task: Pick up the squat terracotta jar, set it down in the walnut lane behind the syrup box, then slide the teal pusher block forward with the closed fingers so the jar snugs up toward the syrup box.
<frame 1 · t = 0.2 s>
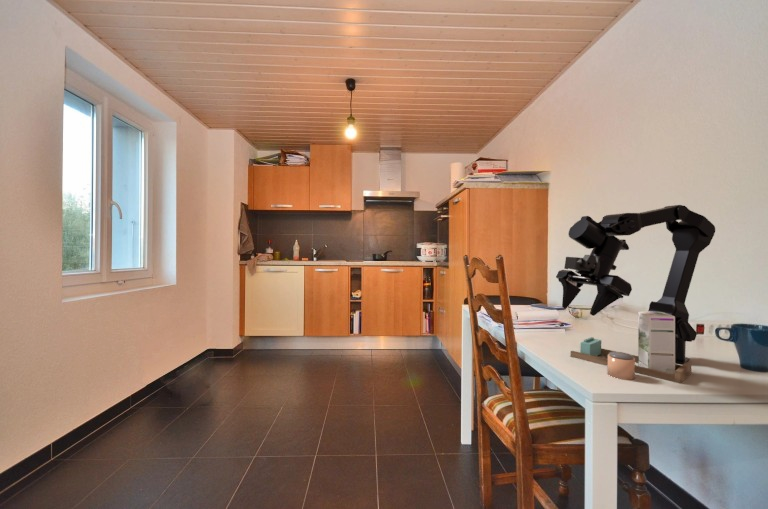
hand: (577, 311, 90), 14 cm above the table, tool tilted 30°, fingers open, 9 cm apart
pusher: (591, 347, 99), point 2 cm above the table, slide at 0.0 cm
syrup box: (655, 372, 87), resting in lane
jar: (620, 375, 84), on the table
lane: (624, 363, 92), on the table
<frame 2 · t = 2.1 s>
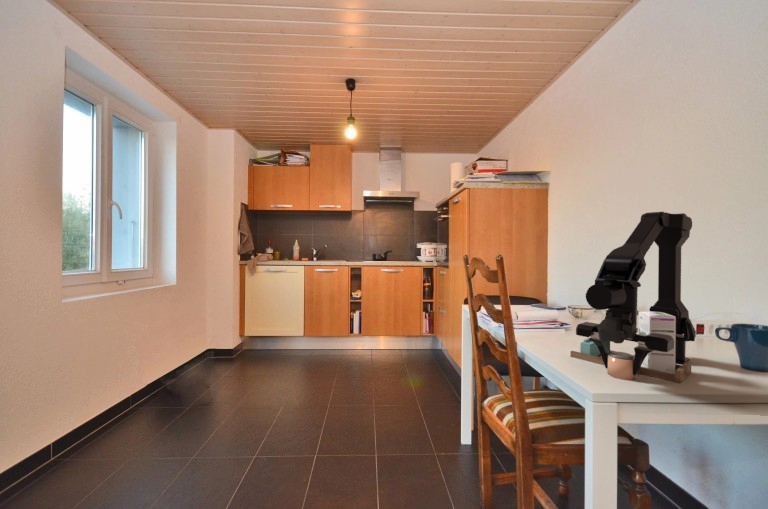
hand: (620, 371, 84), 1 cm above the table, tool pointing down, fingers closed on jar, 5 cm apart
jar: (620, 375, 84), on the table, touching gripper
everything else where it was.
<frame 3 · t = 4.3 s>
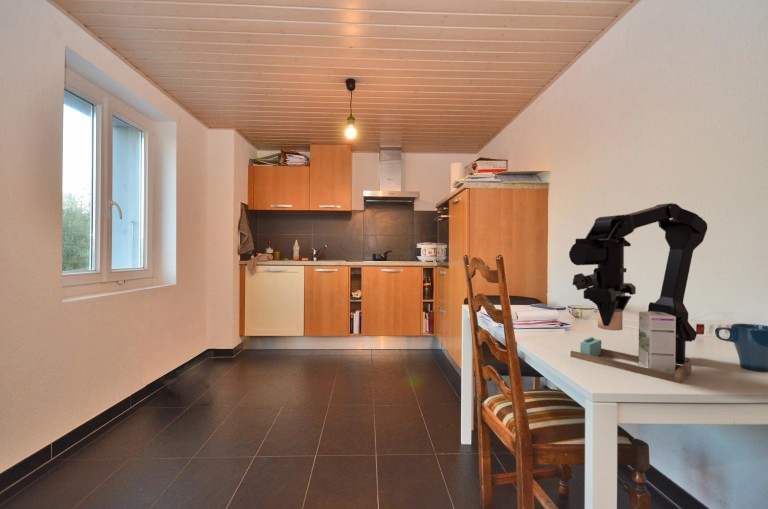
hand: (610, 324, 91), 11 cm above the table, tool pointing down, fingers closed on jar, 5 cm apart
jar: (609, 327, 91), point 10 cm above the table, touching gripper
everything else where it was.
when the fingers open (2 cm above the table, at t = 6.3 s): jar drops 2 cm, resting in lane.
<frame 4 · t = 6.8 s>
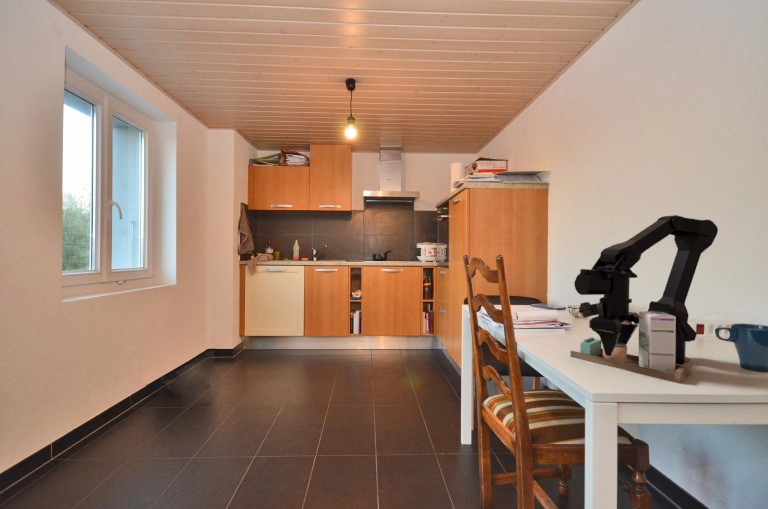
hand: (614, 352, 94), 2 cm above the table, tool pointing down, fingers open, 9 cm apart
jar: (614, 361, 94), resting in lane
everything else where it was.
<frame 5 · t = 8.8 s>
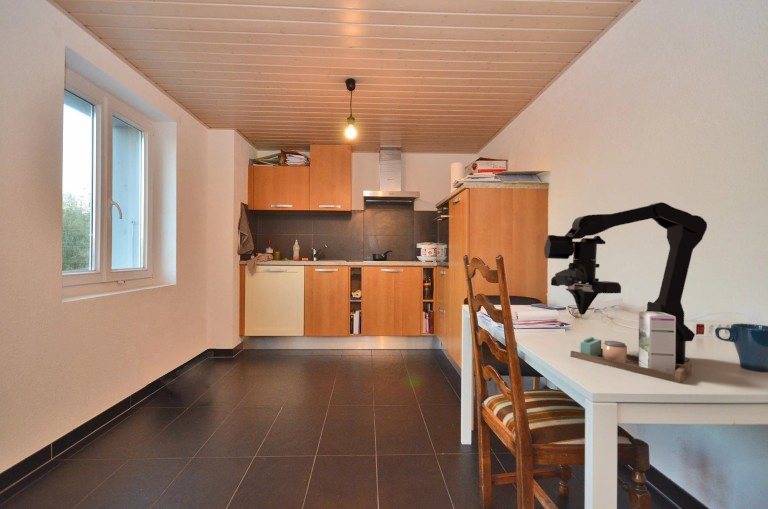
hand: (581, 314, 100), 12 cm above the table, tool pointing down, fingers closed
nothing on the table moved.
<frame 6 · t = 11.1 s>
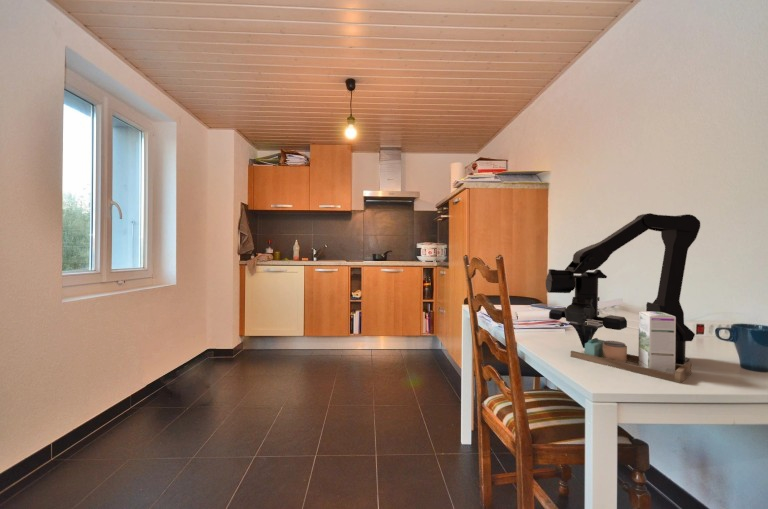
hand: (585, 348, 100), 2 cm above the table, tool pointing down, fingers closed
pusher: (595, 348, 98), point 3 cm above the table, slide at 1.1 cm, touching gripper
everything else where it was.
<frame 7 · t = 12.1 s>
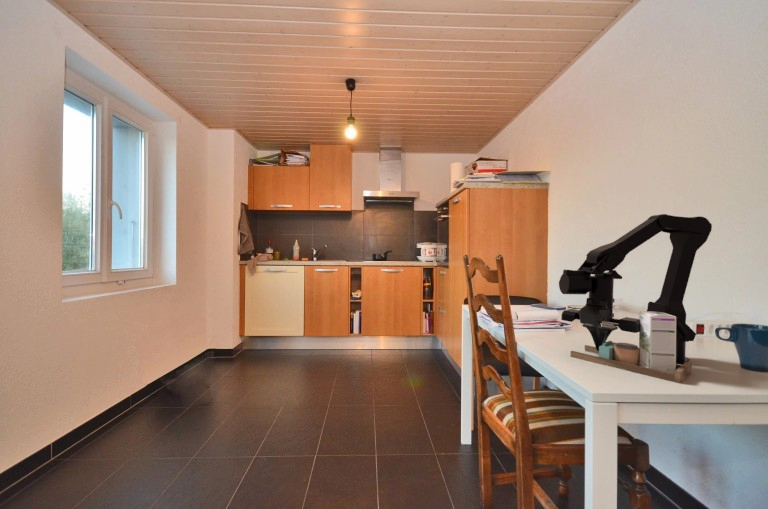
hand: (599, 350, 97), 2 cm above the table, tool pointing down, fingers closed
pusher: (609, 351, 95), point 3 cm above the table, slide at 4.7 cm, touching gripper, jar
syrup box: (656, 372, 87), resting in lane, touching jar
jar: (626, 364, 92), resting in lane, touching pusher, syrup box
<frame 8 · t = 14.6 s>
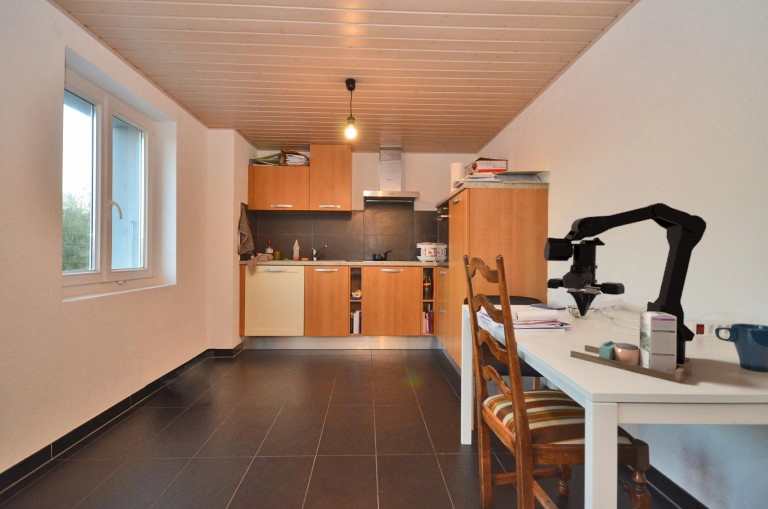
hand: (582, 315, 100), 11 cm above the table, tool pointing down, fingers closed
pusher: (609, 351, 95), point 3 cm above the table, slide at 4.7 cm
syrup box: (656, 372, 87), resting in lane
jar: (626, 364, 92), resting in lane
at the end: jar 1.0 cm from the target spot, resting in lane; jar tilted 0°; pusher slide at 4.7 cm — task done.
